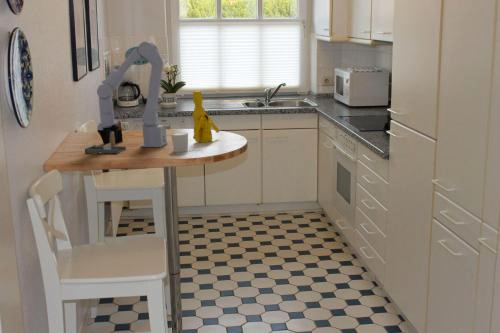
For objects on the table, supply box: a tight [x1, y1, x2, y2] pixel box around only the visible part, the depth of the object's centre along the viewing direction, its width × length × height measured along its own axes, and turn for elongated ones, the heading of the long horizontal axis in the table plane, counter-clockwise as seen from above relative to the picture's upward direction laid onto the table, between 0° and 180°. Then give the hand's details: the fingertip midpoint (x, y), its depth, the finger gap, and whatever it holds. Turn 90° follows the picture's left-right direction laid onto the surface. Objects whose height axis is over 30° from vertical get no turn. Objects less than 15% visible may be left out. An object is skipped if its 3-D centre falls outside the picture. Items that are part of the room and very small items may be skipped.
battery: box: [115, 121, 124, 144], centre depth 285 cm, size 4×7×10 cm, turn 48°
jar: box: [110, 131, 116, 146], centre depth 271 cm, size 4×4×7 cm
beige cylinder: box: [171, 132, 189, 153], centre depth 258 cm, size 7×7×7 cm
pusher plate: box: [102, 143, 111, 150], centre depth 263 cm, size 1×5×3 cm, turn 165°
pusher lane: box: [84, 144, 127, 154], centre depth 263 cm, size 15×8×2 cm, turn 75°
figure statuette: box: [192, 90, 221, 144], centre depth 274 cm, size 18×8×22 cm, turn 145°
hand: (109, 144), depth 271 cm, fingers open, 5 cm apart
